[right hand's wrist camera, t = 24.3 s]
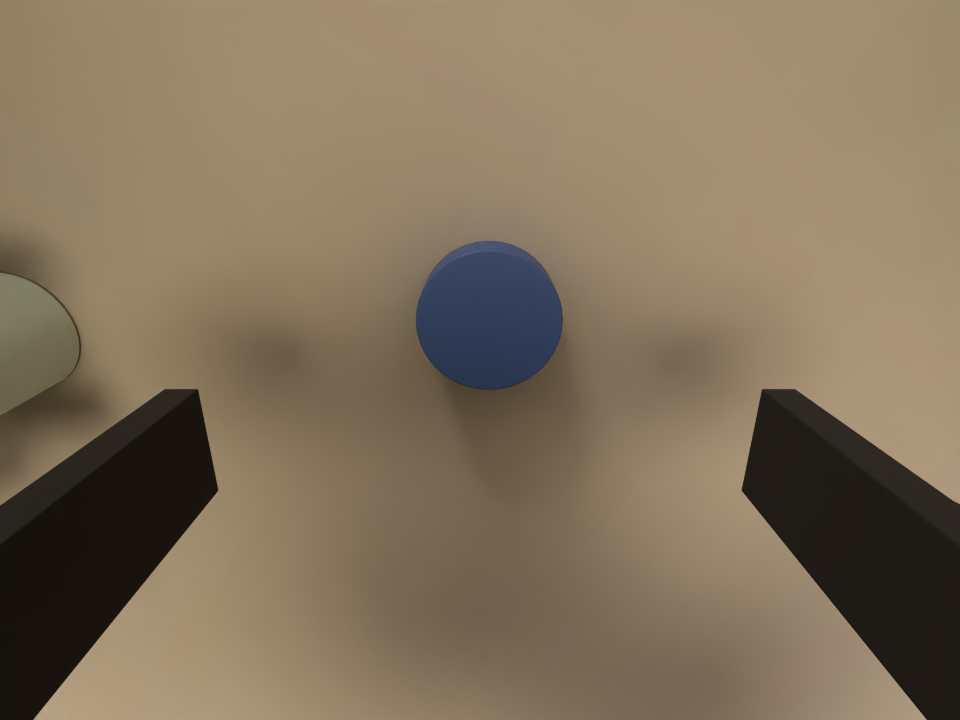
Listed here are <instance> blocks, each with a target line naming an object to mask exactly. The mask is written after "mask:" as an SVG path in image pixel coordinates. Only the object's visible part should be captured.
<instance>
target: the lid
mask: <svg viewBox="0 0 960 720" xmlns="http://www.w3.org/2000/svg"><path fill="white" fill-rule="evenodd" d="M562 321H563V318H562V308H561V304H560V300H559V297H558V294H557V292H556V290H555V288H554V286H553V283H552V281H551V279H550V278H549V276H548V274H547V272H546V271H545V269H544V268H543V267H542V265H541V264H540V263H539V262H538V261H537V260H536V259H535V258H534V257H532V256H531V255H530V254H529V253H527V252H525V251H524V250H522V249H520V248H518V247H515V246H513V245H510V244H506V243H502V242H495V241H484V242H476V243H472V244H468V245H465V246H463V247H461V248H458V249H456V250H455V251H453V252H451V253H450V254H449V255H447V256H446V257H445V258H443V259H442V260H441V261H440V262H439V263H438V264H437V266H436V267H435V268H434V270H433V271H432V272H431V274H430V276H429V278H428V280H427V282H426V284H425V287H424V289H423V291H422V294H421V297H420V299H419V303H418V307H417V314H416V327H417V333H418V338H419V341H420V344H421V346H422V348H423V350H424V352H425V354H426V356H427V357H428V359H429V360H430V362H431V363H432V364H433V365H434V366H435V367H436V368H437V369H438V370H439V371H440V372H441V373H442V374H444V375H445V376H447V377H448V378H450V379H451V380H453V381H455V382H457V383H459V384H462V385H465V386H468V387H472V388H476V389H502V388H506V387H511V386H513V385H516V384H519V383H521V382H523V381H525V380H527V379H529V378H530V377H532V376H533V375H534V374H536V373H537V372H538V371H539V370H540V369H542V368H543V366H544V365H545V364H546V363H547V362H548V361H549V359H550V358H551V356H552V355H553V353H554V351H555V349H556V347H557V345H558V342H559V339H560V336H561V331H562Z"/></svg>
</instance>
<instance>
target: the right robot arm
mask: <svg viewBox="0 0 960 720" xmlns="http://www.w3.org/2000/svg"><path fill="white" fill-rule="evenodd" d="M217 492H218V486H217V481H216V476H215V471H214V466H213V462H212V457H211V452H210V447H209V442H208V437H207V432H206V427H205V422H204V417H203V412H202V407H201V402H200V397H199V392H198V389H165V390H163V391H162V392H160V393H159V394H158V395H156V396H155V397H153V398H152V399H151V400H149V401H148V402H146V403H145V404H143V405H142V406H141V407H139V408H138V409H136V410H135V411H134V412H132V413H131V414H129V415H128V416H126V417H125V418H124V419H122V420H121V421H119V422H118V423H117V424H115V425H114V426H112V427H111V428H109V429H108V430H107V431H105V432H104V433H102V434H101V435H100V436H98V437H97V438H95V439H94V440H92V441H91V442H90V443H88V444H87V445H85V446H84V447H83V448H81V449H80V450H78V451H77V452H75V453H74V454H73V455H71V456H70V457H68V458H67V459H66V460H64V461H63V462H61V463H60V464H59V465H57V466H56V467H54V468H53V469H51V470H50V471H49V472H47V473H46V474H44V475H43V476H42V477H40V478H39V479H37V480H36V481H34V482H33V483H32V484H30V485H29V486H27V487H26V488H25V489H23V490H22V491H20V492H19V493H17V494H16V495H15V496H13V497H12V498H10V499H9V500H8V501H6V502H5V503H3V504H2V505H0V720H33V719H34V718H35V717H36V716H37V714H38V713H39V712H40V711H41V709H42V708H43V707H44V706H45V704H46V703H47V702H48V701H49V699H50V698H51V697H52V696H53V695H54V693H55V692H56V691H57V690H58V688H59V687H60V686H61V685H62V683H63V682H64V681H65V680H66V678H67V677H68V676H69V675H70V673H71V672H72V671H73V670H74V669H75V667H76V666H77V665H78V664H79V662H80V661H81V660H82V659H83V657H84V656H85V655H86V654H87V652H88V651H89V650H90V649H91V647H92V646H93V645H94V644H95V643H96V641H97V640H98V639H99V638H100V636H101V635H102V634H103V633H104V631H105V630H106V629H107V628H108V626H109V625H110V624H111V623H112V622H113V620H114V619H115V618H116V617H117V615H118V614H119V613H120V612H121V610H122V609H123V608H124V607H125V605H126V604H127V603H128V602H129V600H130V599H131V598H132V597H133V596H134V594H135V593H136V592H137V591H138V589H139V588H140V587H141V586H142V584H143V583H144V582H145V581H146V579H147V578H148V577H149V576H150V574H151V573H152V572H153V571H154V570H155V568H156V567H157V566H158V565H159V563H160V562H161V561H162V560H163V558H164V557H165V556H166V555H167V553H168V552H169V551H170V550H171V548H172V547H173V546H174V545H175V544H176V542H177V541H178V540H179V539H180V537H181V536H182V535H183V534H184V532H185V531H186V530H187V529H188V527H189V526H190V525H191V524H192V523H193V521H194V520H195V519H196V518H197V516H198V515H199V514H200V513H201V511H202V510H203V509H204V508H205V506H206V505H207V504H208V503H209V501H210V500H211V499H212V498H213V497H214V495H215V494H216V493H217ZM742 492H743V493H744V494H745V495H746V497H747V498H748V499H749V500H750V501H751V503H752V504H753V505H754V506H755V508H756V509H757V510H758V511H759V513H760V514H761V515H762V516H763V518H764V519H765V520H766V521H767V523H768V524H769V525H770V526H771V527H772V529H773V530H774V531H775V532H776V534H777V535H778V536H779V537H780V539H781V540H782V541H783V542H784V544H785V545H786V546H787V547H788V549H789V550H790V551H791V552H792V553H793V555H794V556H795V557H796V558H797V560H798V561H799V562H800V563H801V565H802V566H803V567H804V568H805V570H806V571H807V572H808V573H809V574H810V576H811V577H812V578H813V579H814V581H815V582H816V583H817V584H818V586H819V587H820V588H821V589H822V591H823V592H824V593H825V594H826V596H827V597H828V598H829V599H830V600H831V602H832V603H833V604H834V605H835V607H836V608H837V609H838V610H839V612H840V613H841V614H842V615H843V617H844V618H845V619H846V620H847V622H848V623H849V624H850V625H851V626H852V628H853V629H854V630H855V631H856V633H857V634H858V635H859V636H860V638H861V639H862V640H863V641H864V643H865V644H866V645H867V646H868V647H869V649H870V650H871V651H872V652H873V654H874V655H875V656H876V657H877V659H878V660H879V661H880V662H881V664H882V665H883V666H884V667H885V669H886V670H887V671H888V672H889V673H890V675H891V676H892V677H893V678H894V680H895V681H896V682H897V683H898V685H899V686H900V687H901V688H902V690H903V691H904V692H905V693H906V695H907V696H908V697H909V698H910V699H911V701H912V702H913V703H914V704H915V706H916V707H917V708H918V709H919V711H920V712H921V713H922V714H923V716H924V717H925V718H926V719H927V720H960V504H958V503H956V502H954V501H952V500H951V499H950V498H948V497H947V496H945V495H944V494H943V493H941V492H940V491H938V490H937V489H935V488H934V487H933V486H931V485H930V484H928V483H927V482H926V481H924V480H923V479H921V478H920V477H918V476H917V475H916V474H914V473H913V472H911V471H910V470H909V469H907V468H906V467H904V466H903V465H901V464H900V463H899V462H897V461H896V460H894V459H893V458H892V457H890V456H889V455H887V454H886V453H885V452H883V451H882V450H880V449H879V448H877V447H876V446H875V445H873V444H872V443H870V442H869V441H868V440H866V439H865V438H863V437H862V436H860V435H859V434H858V433H856V432H855V431H853V430H852V429H851V428H849V427H848V426H846V425H845V424H843V423H842V422H841V421H839V420H838V419H836V418H835V417H834V416H832V415H831V414H829V413H828V412H826V411H825V410H824V409H822V408H821V407H819V406H818V405H817V404H815V403H814V402H812V401H811V400H809V399H808V398H807V397H805V396H804V395H802V394H801V393H800V392H798V391H797V390H795V389H762V392H761V397H760V402H759V407H758V412H757V417H756V422H755V427H754V432H753V437H752V442H751V447H750V452H749V457H748V462H747V466H746V471H745V476H744V481H743V486H742Z"/></svg>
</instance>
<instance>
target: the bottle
mask: <svg viewBox="0 0 960 720" xmlns="http://www.w3.org/2000/svg"><path fill="white" fill-rule="evenodd" d="M78 357H79V338H78V334H77V331H76V328H75V326H74V324H73V322H72V320H71V318H70V316H69V315H68V313H67V312H66V310H65V309H64V308H63V307H62V305H61V304H60V303H59V302H58V301H57V300H56V299H55V298H54V297H53V296H52V295H51V294H49V293H48V292H47V291H46V290H44V289H43V288H41V287H40V286H38V285H36V284H34V283H33V282H31V281H28V280H26V279H24V278H21V277H18V276H15V275H10V274H5V273H0V415H2V414H4V413H5V412H7V411H9V410H11V409H13V408H14V407H16V406H18V405H20V404H21V403H23V402H25V401H27V400H29V399H30V398H32V397H34V396H36V395H37V394H39V393H41V392H43V391H45V390H46V389H48V388H50V387H52V386H53V385H55V384H57V383H59V382H60V381H62V380H64V379H65V378H66V377H67V376H68V375H69V374H70V373H71V372H72V371H73V369H74V367H75V366H76V363H77V361H78Z"/></svg>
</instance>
